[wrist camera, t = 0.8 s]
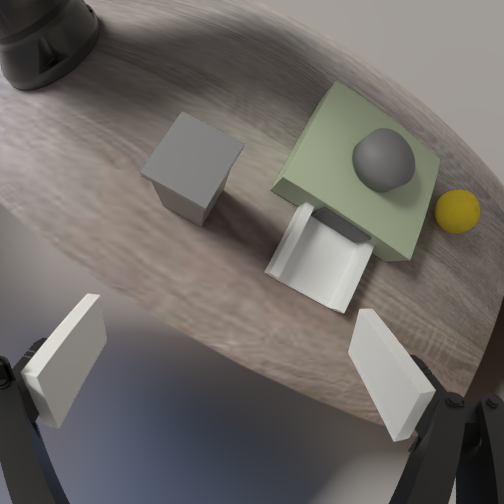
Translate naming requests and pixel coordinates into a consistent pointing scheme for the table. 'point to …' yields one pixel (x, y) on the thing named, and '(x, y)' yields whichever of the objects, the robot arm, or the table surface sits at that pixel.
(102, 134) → the table surface
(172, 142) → the gray capped pillar
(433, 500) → the robot arm
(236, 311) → the table surface
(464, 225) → the lemon
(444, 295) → the table surface
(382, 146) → the green block with knob
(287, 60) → the table surface
